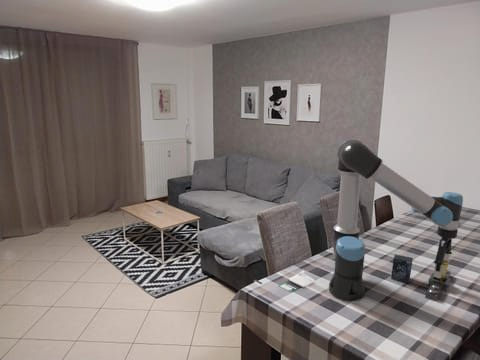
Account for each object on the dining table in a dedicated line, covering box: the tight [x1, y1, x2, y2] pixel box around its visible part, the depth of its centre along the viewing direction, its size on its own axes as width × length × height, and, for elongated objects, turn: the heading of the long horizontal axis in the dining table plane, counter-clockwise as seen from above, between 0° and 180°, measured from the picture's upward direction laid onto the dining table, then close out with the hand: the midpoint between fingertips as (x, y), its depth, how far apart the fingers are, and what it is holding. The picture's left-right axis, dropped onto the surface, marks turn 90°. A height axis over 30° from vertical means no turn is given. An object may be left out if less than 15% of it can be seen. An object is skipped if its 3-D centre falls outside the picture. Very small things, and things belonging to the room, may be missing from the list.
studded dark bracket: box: [424, 269, 452, 302], centre depth 157 cm, size 29×7×4 cm, turn 139°
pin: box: [436, 260, 450, 282], centre depth 157 cm, size 4×4×12 cm
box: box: [390, 253, 414, 284], centre depth 163 cm, size 8×6×11 cm
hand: (440, 272), depth 157 cm, fingers open, 13 cm apart
